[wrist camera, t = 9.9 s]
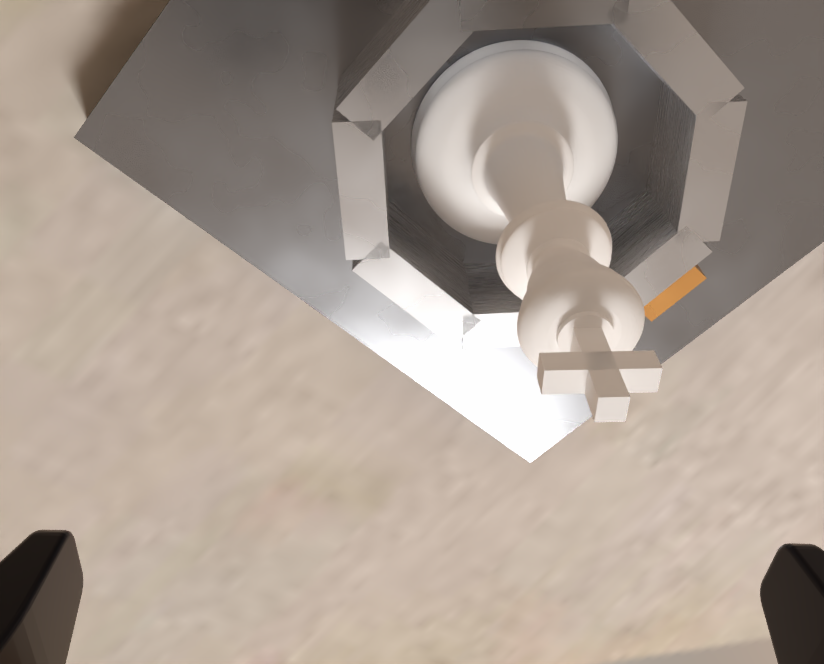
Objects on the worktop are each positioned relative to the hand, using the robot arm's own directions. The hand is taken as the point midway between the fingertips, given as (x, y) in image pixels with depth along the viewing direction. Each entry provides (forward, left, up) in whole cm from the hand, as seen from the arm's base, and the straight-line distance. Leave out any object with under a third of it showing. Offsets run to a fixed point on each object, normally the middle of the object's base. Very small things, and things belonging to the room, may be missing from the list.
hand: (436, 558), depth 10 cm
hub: (+1, +3, -13) cm, 13 cm away
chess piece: (+1, +2, -12) cm, 12 cm away
